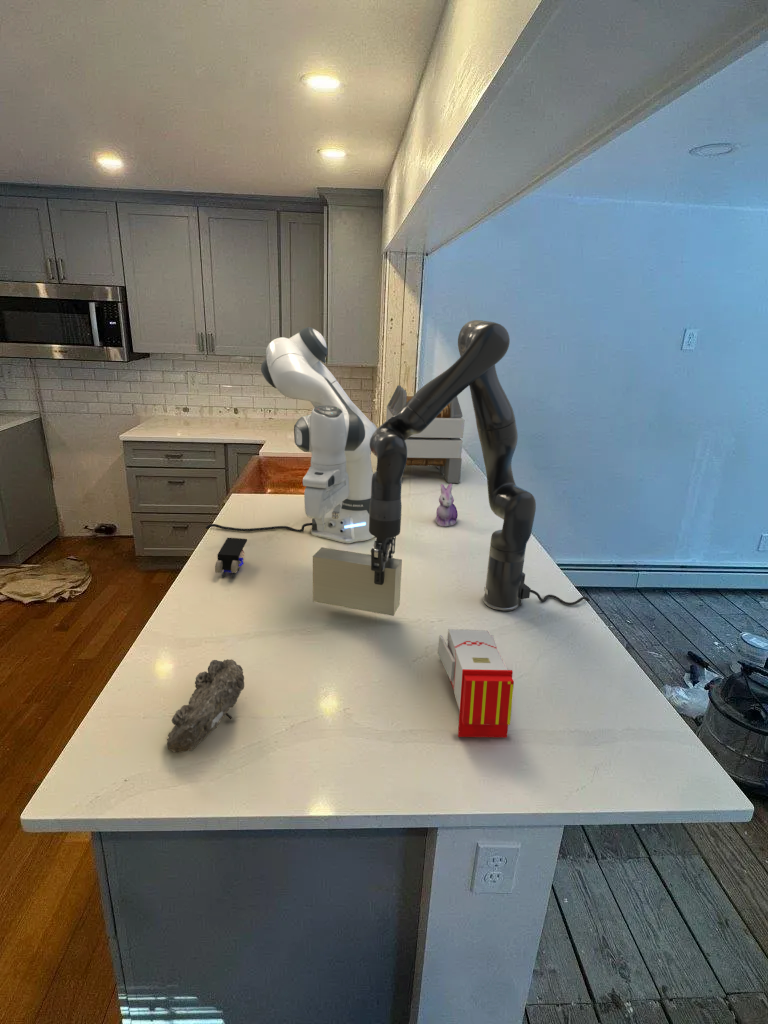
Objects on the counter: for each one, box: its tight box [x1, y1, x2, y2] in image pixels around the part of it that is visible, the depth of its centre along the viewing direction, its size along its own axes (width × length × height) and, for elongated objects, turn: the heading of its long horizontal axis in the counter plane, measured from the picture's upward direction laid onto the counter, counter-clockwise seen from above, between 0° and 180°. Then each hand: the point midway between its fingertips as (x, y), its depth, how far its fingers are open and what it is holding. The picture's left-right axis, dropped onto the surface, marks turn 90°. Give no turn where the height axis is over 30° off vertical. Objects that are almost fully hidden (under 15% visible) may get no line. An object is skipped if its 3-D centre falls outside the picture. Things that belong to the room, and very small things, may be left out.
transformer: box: [385, 384, 465, 484], centre depth 268 cm, size 34×33×41 cm
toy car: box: [214, 537, 248, 578], centre depth 166 cm, size 7×8×15 cm
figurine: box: [434, 483, 459, 527], centre depth 210 cm, size 9×10×15 cm
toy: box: [437, 628, 515, 738], centre depth 117 cm, size 12×13×30 cm
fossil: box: [166, 658, 245, 754], centre depth 106 cm, size 22×10×15 cm
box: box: [312, 547, 403, 617], centre depth 142 cm, size 21×6×13 cm, turn 74°
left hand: (329, 523), depth 147 cm, fingers open, 8 cm apart
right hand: (382, 577), depth 140 cm, fingers closed on box, 6 cm apart
